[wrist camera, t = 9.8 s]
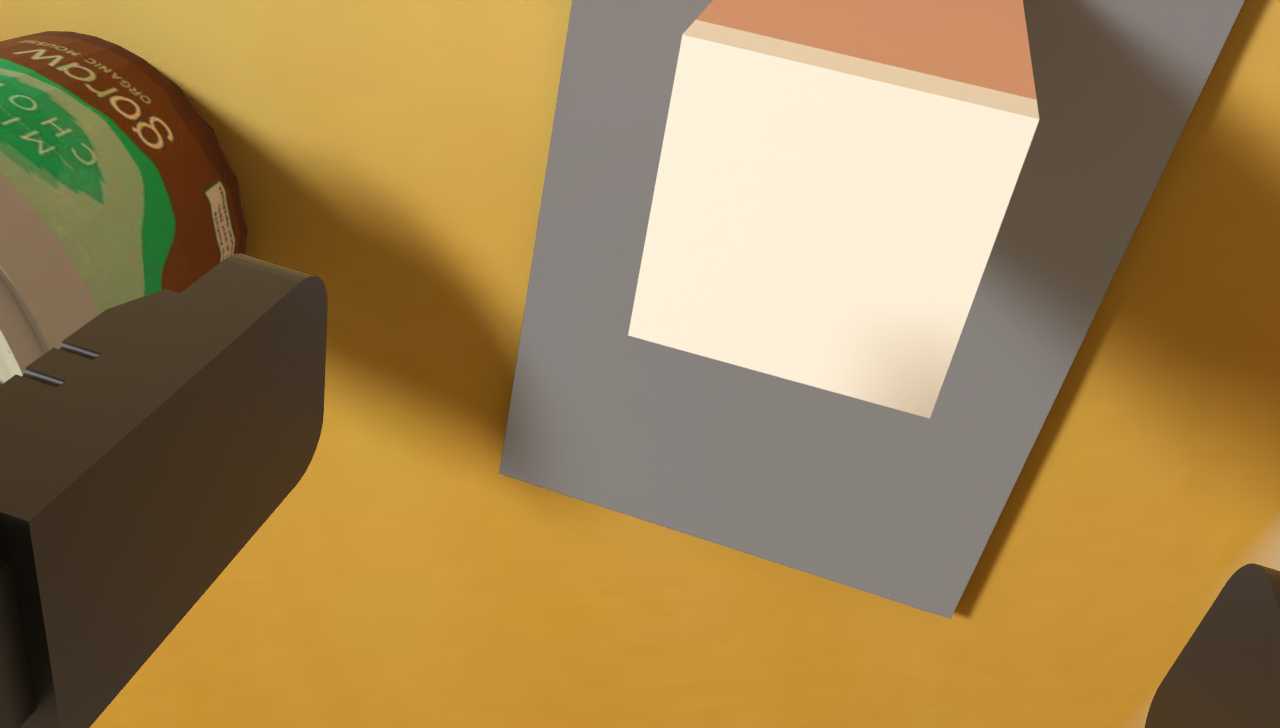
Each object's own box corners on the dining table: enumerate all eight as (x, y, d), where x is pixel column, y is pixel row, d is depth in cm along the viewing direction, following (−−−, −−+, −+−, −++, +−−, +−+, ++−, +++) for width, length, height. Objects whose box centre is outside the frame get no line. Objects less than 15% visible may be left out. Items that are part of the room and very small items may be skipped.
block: (805, -104, 24) (682, 35, 14) (1014, -58, 24) (1040, 119, 14) (760, 96, 27) (627, 336, 17) (949, 142, 26) (929, 418, 16)
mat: (638, -372, 23) (630, -374, 23) (1336, -214, 22) (1345, -212, 21) (506, 462, 35) (499, 473, 35) (951, 605, 33) (950, 618, 33)
